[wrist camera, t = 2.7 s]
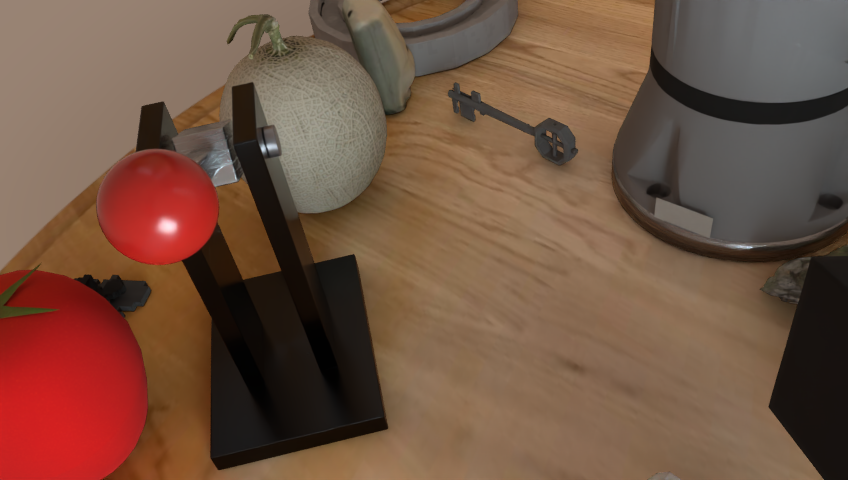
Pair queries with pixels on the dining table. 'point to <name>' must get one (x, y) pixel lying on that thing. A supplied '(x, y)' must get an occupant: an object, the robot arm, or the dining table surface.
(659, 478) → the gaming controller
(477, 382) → the dining table surface
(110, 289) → the dark jagged flat piece
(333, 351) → the bracket
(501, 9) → the mechanical component
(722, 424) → the dining table surface
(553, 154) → the key
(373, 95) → the fruit
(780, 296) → the rock
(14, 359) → the tomato
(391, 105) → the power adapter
